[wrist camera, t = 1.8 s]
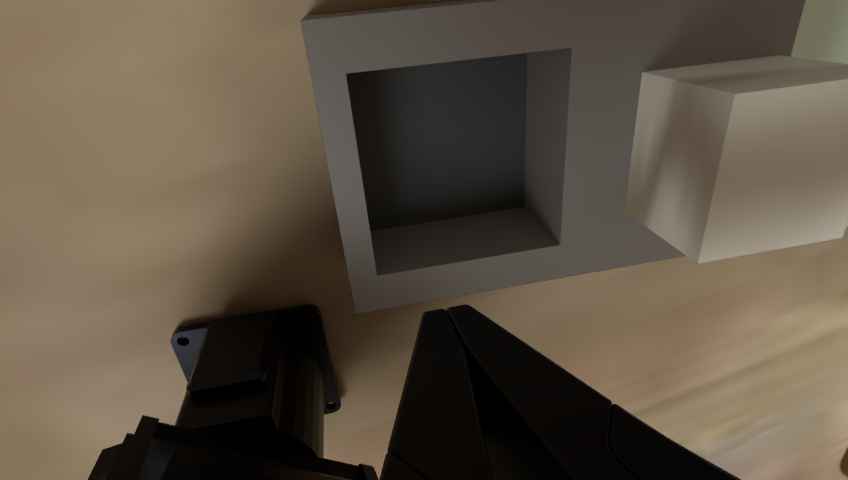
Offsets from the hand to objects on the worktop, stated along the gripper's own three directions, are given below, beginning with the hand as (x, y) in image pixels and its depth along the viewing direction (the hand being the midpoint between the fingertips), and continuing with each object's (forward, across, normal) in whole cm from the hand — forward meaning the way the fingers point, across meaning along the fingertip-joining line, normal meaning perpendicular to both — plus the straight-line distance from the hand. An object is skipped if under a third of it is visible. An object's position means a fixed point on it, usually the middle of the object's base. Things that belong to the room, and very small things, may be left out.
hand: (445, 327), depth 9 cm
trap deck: (+12, -15, 0) cm, 19 cm away
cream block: (+8, -11, 0) cm, 13 cm away
